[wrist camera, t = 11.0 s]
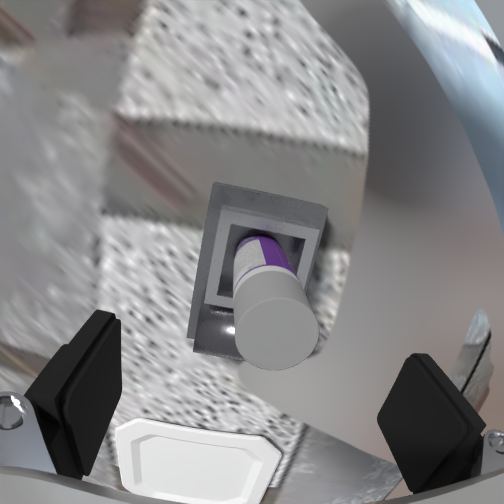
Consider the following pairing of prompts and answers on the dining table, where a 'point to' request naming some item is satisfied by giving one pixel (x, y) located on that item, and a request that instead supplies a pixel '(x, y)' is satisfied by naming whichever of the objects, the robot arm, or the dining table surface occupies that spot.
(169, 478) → the plate
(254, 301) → the container
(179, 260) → the dining table surface
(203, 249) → the block
